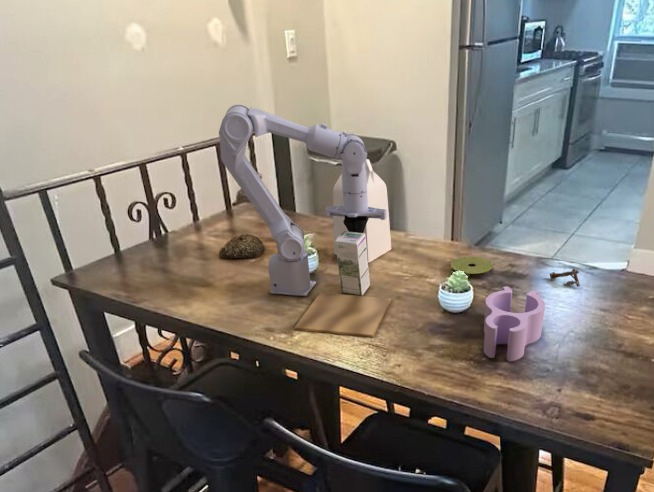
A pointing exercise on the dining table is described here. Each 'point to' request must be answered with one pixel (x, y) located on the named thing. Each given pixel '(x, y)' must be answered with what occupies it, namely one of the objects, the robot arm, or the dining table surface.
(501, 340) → the clip
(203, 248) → the dining table surface
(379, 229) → the milk
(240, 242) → the bread roll
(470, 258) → the mat
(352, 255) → the syrup box
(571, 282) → the wooden post with brackets
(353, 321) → the wooden board
